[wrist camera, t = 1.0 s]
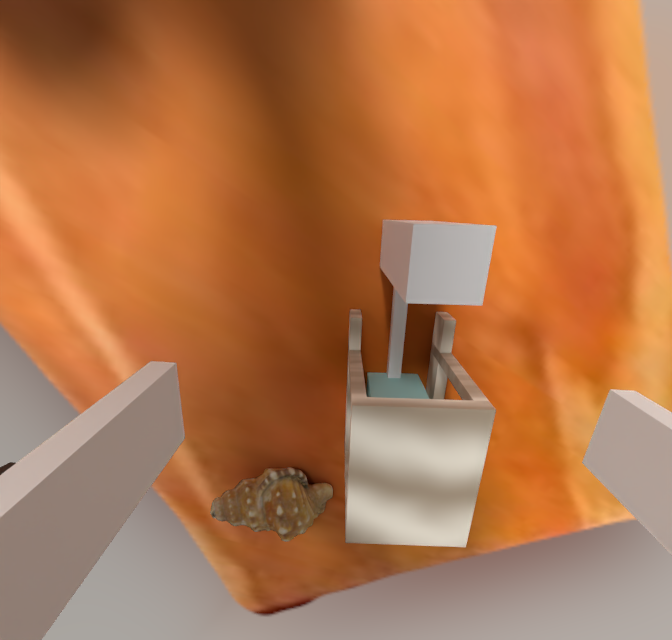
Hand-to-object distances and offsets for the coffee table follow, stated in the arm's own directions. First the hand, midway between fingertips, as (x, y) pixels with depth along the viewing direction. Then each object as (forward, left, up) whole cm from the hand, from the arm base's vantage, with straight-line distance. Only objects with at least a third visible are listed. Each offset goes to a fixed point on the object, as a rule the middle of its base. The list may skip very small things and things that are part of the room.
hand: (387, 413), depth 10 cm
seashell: (+24, -8, -20) cm, 32 cm away
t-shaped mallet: (+4, +4, -20) cm, 20 cm away
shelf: (+10, +4, -20) cm, 22 cm away
